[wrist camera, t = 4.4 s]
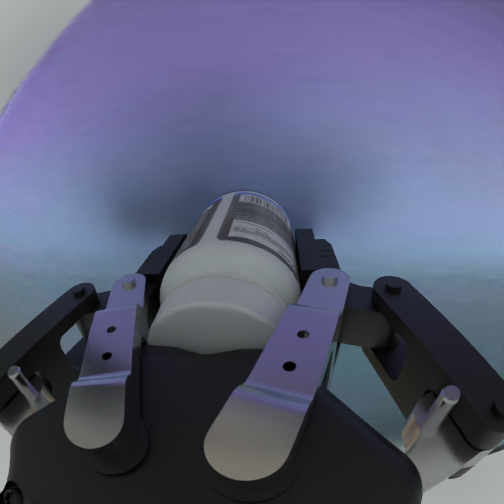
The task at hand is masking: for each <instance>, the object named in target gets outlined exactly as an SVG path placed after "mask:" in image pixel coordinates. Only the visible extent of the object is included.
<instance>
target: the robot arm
mask: <svg viewBox="0 0 504 504" xmlns="http://www.w3.org/2000/svg"><path fill="white" fill-rule="evenodd" d="M186 238H187V235H186V234H182V235H170V236H169V238H168V239H167V240H166V242H165V243H164V244H163V246H160V247H158V248H157V249H155V250H154V251H152V252H151V254H150V255H149V256H148V258H147V259H146V260H145V262H144V263H143V264H142V265H141V267H140V268H139V269H138V271H137V272H136V273H135V274H129V275H125V276H123V277H121V278H119V279H117V280H116V281H115V282H114V283H113V285H112V288H111V291H107V292H102V293H97V292H96V289H95V287H94V285H93V284H91V283H82V284H79V285H76V286H74V287H72V288H71V289H69V290H68V291H67V292H66V293H64V294H63V295H62V296H61V297H60V298H58V299H57V300H56V301H55V302H53V303H52V304H51V305H50V306H49V307H47V308H46V309H45V310H44V311H43V312H41V313H40V314H39V315H38V316H37V317H36V318H34V319H33V320H32V321H31V322H30V323H29V324H27V325H26V326H25V327H24V328H23V329H22V330H21V331H20V332H18V333H17V334H16V335H15V336H14V337H13V338H12V339H11V340H10V341H8V342H7V343H6V344H5V345H4V346H3V347H2V348H1V349H0V425H1V426H2V427H3V428H4V429H5V430H7V431H8V432H9V433H10V434H11V436H12V437H13V438H12V441H11V447H10V468H9V473H8V478H7V483H6V485H5V487H4V489H3V491H2V492H1V493H0V504H421V500H422V494H423V493H424V492H426V491H428V490H429V489H431V488H433V487H434V486H436V485H438V484H439V483H440V482H442V481H444V480H446V479H447V478H448V479H454V478H458V477H460V476H462V475H463V474H464V473H466V472H467V471H468V470H470V469H471V468H472V467H473V466H474V465H475V464H477V463H478V462H479V461H480V460H481V459H483V458H484V457H485V456H486V455H487V454H488V453H489V452H490V451H492V450H493V449H494V448H495V447H496V446H497V445H498V444H499V443H500V442H501V441H502V440H503V439H504V380H503V379H502V378H501V377H500V376H499V375H498V373H497V372H496V371H495V370H494V369H493V368H492V367H491V365H490V364H489V363H488V362H487V361H486V360H485V359H484V358H483V357H482V355H481V354H480V353H479V352H478V351H477V350H476V349H475V348H474V347H473V346H472V345H471V344H470V342H469V341H468V340H467V339H466V338H465V337H464V336H463V335H462V334H461V333H460V332H459V331H458V330H457V329H456V328H455V327H454V326H453V325H452V324H451V323H450V322H449V321H448V320H447V319H446V318H445V317H444V316H443V315H442V314H441V313H440V312H439V311H438V310H437V309H436V308H435V307H434V306H433V305H432V304H431V303H430V302H429V301H428V300H427V299H426V298H425V297H424V296H423V295H421V294H420V293H419V292H418V291H417V290H416V289H415V288H414V287H413V286H412V285H411V284H410V283H409V282H407V281H406V280H404V279H402V278H399V277H394V276H384V277H380V278H378V279H377V280H376V281H375V282H374V285H373V288H371V287H364V286H358V285H355V284H352V283H350V277H349V275H348V274H347V273H345V272H344V271H342V270H340V267H339V264H338V261H337V259H336V256H335V253H334V251H333V248H332V245H331V244H330V243H329V242H327V241H326V240H325V239H315V238H314V234H313V231H312V229H295V249H296V255H297V262H298V268H299V275H300V283H301V292H302V294H301V296H300V298H299V300H298V302H297V304H294V303H290V304H288V306H287V308H286V310H285V311H284V313H283V315H282V317H281V319H280V321H279V323H278V325H277V326H276V328H275V330H274V332H273V334H272V336H271V337H270V339H269V341H268V343H267V345H266V347H265V348H264V349H238V350H232V351H226V352H220V353H213V354H199V353H195V352H192V351H188V350H184V349H180V348H177V347H169V346H155V345H148V334H149V330H150V327H151V325H152V323H153V321H154V319H155V317H156V315H157V313H158V311H159V309H160V288H161V284H162V281H163V278H164V275H165V273H166V271H167V269H168V267H169V265H170V263H171V262H172V260H173V258H174V257H175V255H176V254H177V252H178V250H179V249H180V247H181V246H182V244H183V243H184V241H185V239H186ZM75 323H76V324H77V326H78V328H79V330H80V332H81V334H82V336H83V338H82V339H81V340H80V341H79V342H78V343H77V344H76V345H75V346H74V347H73V348H72V349H71V350H70V351H69V352H68V353H67V354H66V355H65V354H64V352H63V350H62V349H61V346H60V340H61V337H62V336H63V335H64V334H65V333H66V332H67V331H68V330H69V329H70V328H71V327H72V326H73V325H74V324H75ZM400 337H401V338H402V339H403V340H402V339H401V338H400ZM404 342H405V343H404ZM341 343H343V344H349V345H355V346H362V350H363V352H364V353H365V355H366V357H367V358H368V360H369V361H370V363H371V364H372V366H373V367H374V369H375V370H376V372H377V374H378V375H379V377H380V378H381V380H382V381H383V383H384V385H385V386H386V388H387V389H388V391H389V393H390V394H391V396H392V397H393V399H394V401H395V402H396V404H397V405H398V407H399V409H400V410H401V412H402V414H403V415H404V417H405V418H406V422H405V424H404V426H403V428H402V439H403V442H404V444H405V453H403V452H402V451H401V450H400V449H398V448H397V447H396V446H395V445H393V444H392V443H391V442H390V441H388V440H387V439H386V438H385V437H383V436H382V435H381V434H380V433H378V432H377V431H376V430H375V429H374V428H372V427H371V426H370V425H369V424H368V423H366V422H365V421H364V420H363V419H362V418H360V417H359V416H358V415H357V414H356V413H354V412H353V411H352V410H351V409H350V408H349V407H347V406H346V405H345V404H344V403H343V402H342V401H340V400H339V399H338V398H337V397H336V396H335V395H334V394H332V393H331V392H330V391H329V388H330V384H331V379H332V376H333V372H334V369H335V365H336V362H337V358H338V354H339V351H340V347H341Z"/></svg>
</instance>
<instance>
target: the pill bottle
mask: <svg viewBox="0 0 504 504" xmlns="http://www.w3.org/2000/svg"><path fill="white" fill-rule="evenodd" d="M301 294H302V292H301V283H300V275H299V268H298V262H297V255H296V249H295V242H294V235H293V230H292V226H291V223H290V220H289V218H288V216H287V214H286V213H285V211H284V210H283V209H282V208H281V206H280V205H279V204H277V203H276V202H275V201H274V200H272V199H271V198H269V197H267V196H265V195H263V194H260V193H257V192H251V191H238V192H232V193H228V194H225V195H223V196H221V197H219V198H217V199H216V200H214V201H213V202H212V203H211V204H210V205H209V206H208V207H207V208H206V209H205V210H204V212H203V213H202V214H201V216H200V217H199V219H198V221H197V222H196V224H195V226H194V227H193V229H192V230H191V232H190V233H189V235H188V236H187V238H186V239H185V241H184V243H183V244H182V246H181V247H180V249H179V250H178V252H177V254H176V255H175V257H174V258H173V260H172V262H171V263H170V265H169V267H168V269H167V271H166V273H165V275H164V278H163V281H162V284H161V288H160V309H159V311H158V313H157V315H156V317H155V319H154V321H153V323H152V325H151V327H150V330H149V334H148V345H155V346H169V347H177V348H180V349H184V350H188V351H192V352H195V353H199V354H213V353H220V352H226V351H232V350H238V349H264V348H265V347H266V345H267V343H268V341H269V339H270V337H271V336H272V334H273V332H274V330H275V328H276V326H277V325H278V323H279V321H280V319H281V317H282V315H283V313H284V311H285V310H286V308H287V306H288V304H290V303H294V304H297V302H298V300H299V298H300V296H301Z"/></svg>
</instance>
